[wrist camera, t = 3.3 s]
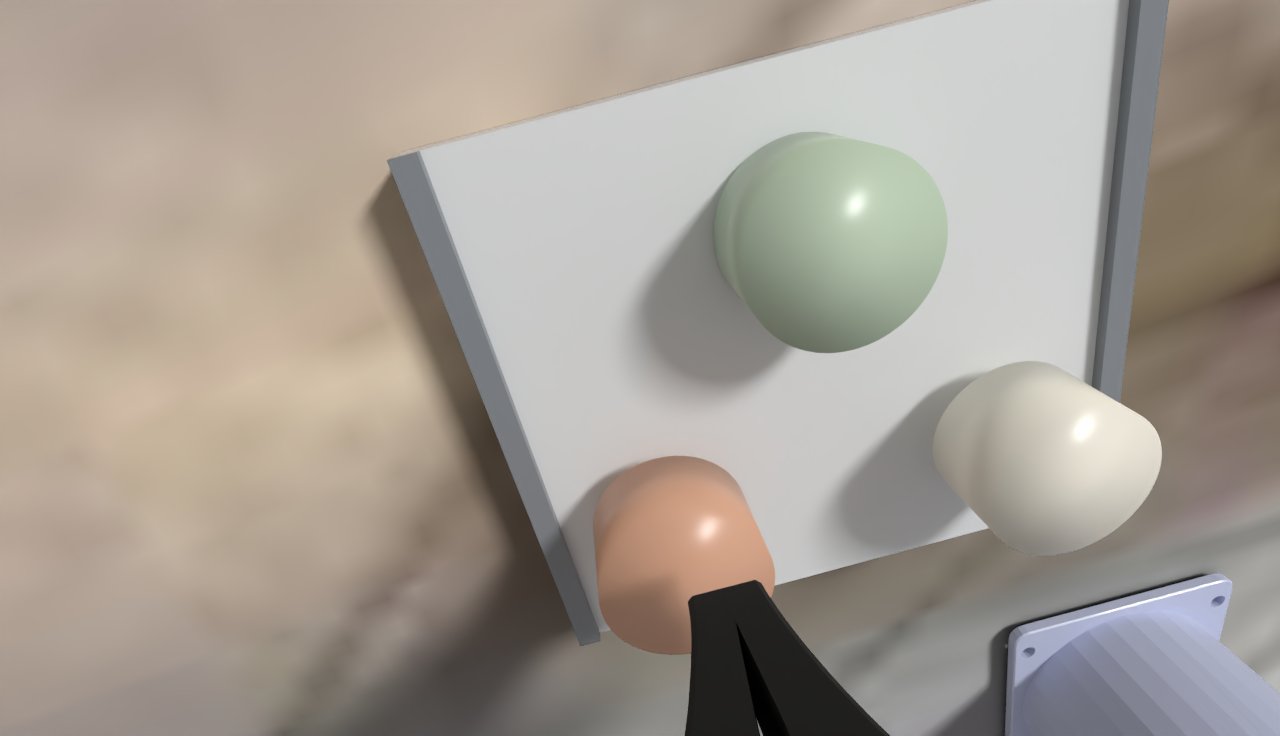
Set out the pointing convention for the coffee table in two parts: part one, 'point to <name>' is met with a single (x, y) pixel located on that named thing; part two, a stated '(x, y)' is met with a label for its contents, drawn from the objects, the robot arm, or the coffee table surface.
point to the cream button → (1045, 457)
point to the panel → (723, 324)
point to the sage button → (830, 239)
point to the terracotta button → (672, 548)
